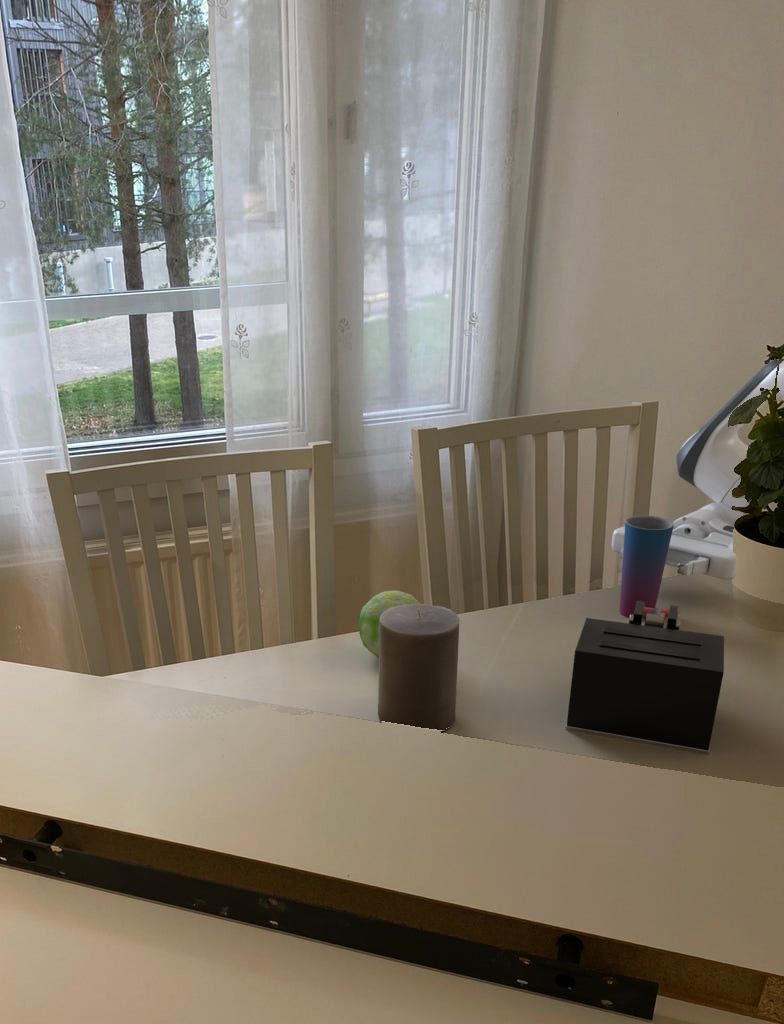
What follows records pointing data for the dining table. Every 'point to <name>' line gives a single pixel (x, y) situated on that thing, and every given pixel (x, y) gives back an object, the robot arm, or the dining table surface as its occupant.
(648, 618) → the lever
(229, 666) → the dining table surface
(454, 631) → the pillar candle
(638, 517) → the cup
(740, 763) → the dining table surface
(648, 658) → the toaster
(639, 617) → the bracket
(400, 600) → the decorative ball
